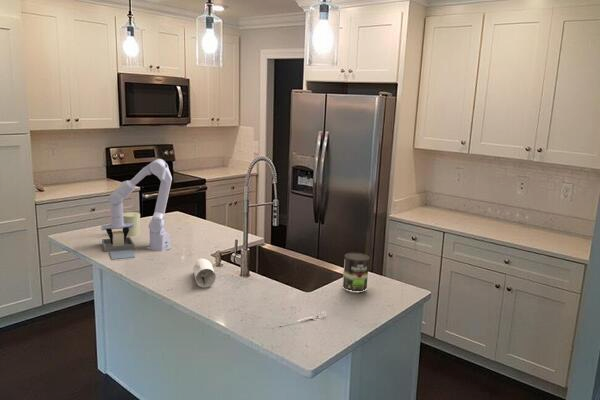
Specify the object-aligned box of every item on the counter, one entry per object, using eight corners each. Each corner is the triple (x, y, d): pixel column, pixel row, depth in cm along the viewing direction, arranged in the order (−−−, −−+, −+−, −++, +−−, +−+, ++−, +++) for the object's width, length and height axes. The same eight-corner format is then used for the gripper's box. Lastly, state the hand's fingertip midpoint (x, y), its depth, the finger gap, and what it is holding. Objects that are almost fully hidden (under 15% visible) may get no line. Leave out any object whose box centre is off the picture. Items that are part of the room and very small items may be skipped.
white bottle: (210, 270, 210) (210, 253, 208) (215, 287, 192) (215, 268, 191) (191, 271, 208) (192, 254, 206) (195, 288, 190) (195, 269, 188)
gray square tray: (130, 242, 242) (130, 236, 242) (134, 250, 231) (134, 244, 230) (101, 245, 236) (101, 239, 235) (104, 253, 224) (104, 247, 224)
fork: (275, 327, 163) (275, 322, 163) (323, 314, 174) (323, 309, 173) (279, 331, 161) (279, 326, 160) (328, 318, 171) (328, 313, 170)
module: (122, 244, 236) (122, 230, 235) (124, 247, 232) (123, 233, 231) (111, 245, 234) (111, 231, 233) (113, 248, 230) (112, 234, 228)
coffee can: (370, 293, 194) (373, 260, 192) (346, 293, 192) (348, 260, 189) (362, 283, 204) (365, 252, 201) (339, 284, 202) (341, 252, 199)
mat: (131, 252, 228) (131, 250, 228) (135, 258, 219) (134, 256, 219) (109, 254, 223) (109, 252, 223) (111, 261, 215) (111, 259, 215)
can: (137, 238, 250) (136, 216, 247) (119, 237, 250) (118, 215, 247) (143, 233, 259) (142, 211, 256) (126, 232, 259) (125, 210, 256)
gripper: (131, 213, 237) (132, 239, 240) (100, 215, 230) (101, 242, 233) (133, 216, 231) (134, 243, 234) (101, 218, 224) (102, 246, 227)
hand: (117, 243), depth 233 cm, fingers closed on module, 5 cm apart
